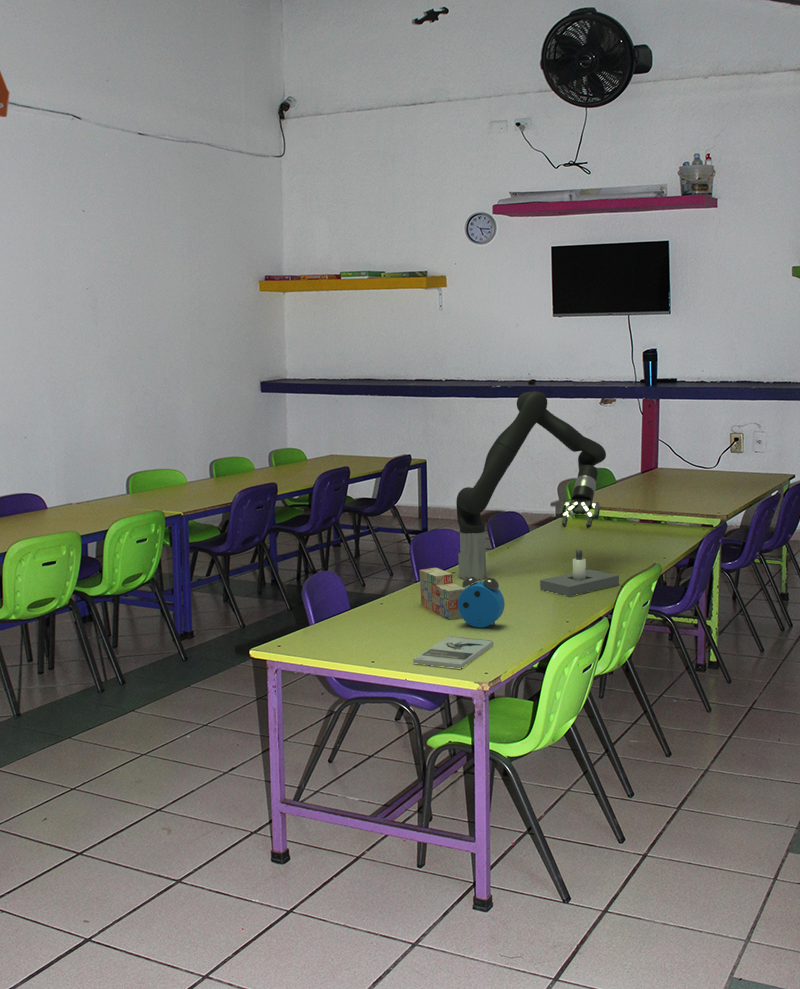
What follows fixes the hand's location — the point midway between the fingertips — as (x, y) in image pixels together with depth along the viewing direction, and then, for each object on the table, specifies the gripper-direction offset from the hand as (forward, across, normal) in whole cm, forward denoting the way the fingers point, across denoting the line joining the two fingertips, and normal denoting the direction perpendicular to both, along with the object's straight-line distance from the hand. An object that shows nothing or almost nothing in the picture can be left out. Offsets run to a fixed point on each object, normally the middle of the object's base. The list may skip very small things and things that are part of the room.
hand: (575, 526), depth 354 cm
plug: (+23, +5, +4) cm, 24 cm away
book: (+84, -6, -56) cm, 101 cm away
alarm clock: (+63, -10, -36) cm, 73 cm away
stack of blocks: (+54, -28, -26) cm, 66 cm away
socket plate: (+23, +5, +3) cm, 24 cm away
